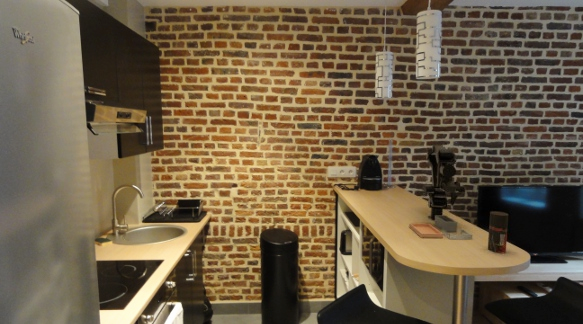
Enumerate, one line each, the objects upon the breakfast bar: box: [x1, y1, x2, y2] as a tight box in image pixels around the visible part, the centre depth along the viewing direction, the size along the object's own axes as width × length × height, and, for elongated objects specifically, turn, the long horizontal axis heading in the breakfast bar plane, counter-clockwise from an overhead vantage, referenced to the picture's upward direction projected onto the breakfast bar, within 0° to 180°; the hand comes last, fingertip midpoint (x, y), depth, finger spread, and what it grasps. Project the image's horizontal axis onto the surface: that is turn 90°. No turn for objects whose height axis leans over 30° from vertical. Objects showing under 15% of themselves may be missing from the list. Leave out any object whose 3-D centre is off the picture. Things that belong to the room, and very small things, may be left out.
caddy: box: [434, 214, 458, 233], centre depth 142 cm, size 11×5×5 cm, turn 177°
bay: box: [440, 228, 473, 240], centre depth 131 cm, size 8×10×2 cm
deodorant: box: [487, 210, 509, 254], centre depth 115 cm, size 6×6×15 cm
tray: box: [408, 222, 444, 239], centre depth 136 cm, size 15×9×2 cm, turn 177°
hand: (442, 205), depth 144 cm, fingers open, 9 cm apart
